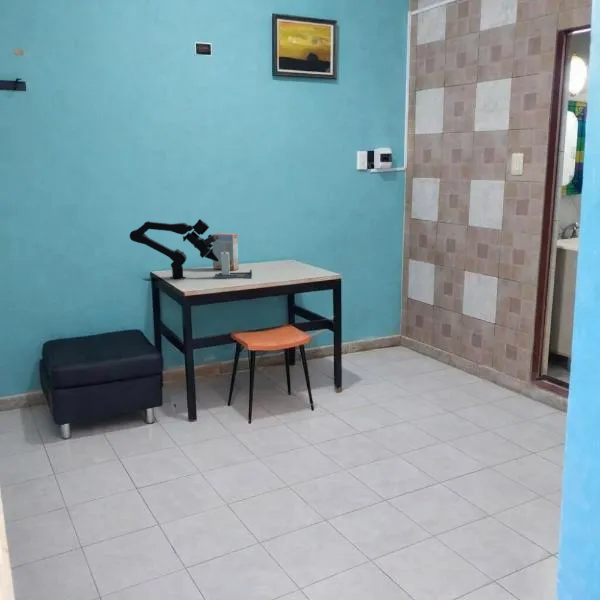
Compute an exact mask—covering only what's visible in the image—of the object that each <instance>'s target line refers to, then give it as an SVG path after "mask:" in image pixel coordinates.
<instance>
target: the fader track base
mask: <svg viewBox="0 0 600 600" xmlns="http://www.w3.org/2000/svg"><path fill="white" fill-rule="evenodd" d="M252 277H253V270H252V269H249V271H248V272H247V271H246V272H242V271H241V272H240V271H239V272H230V275H222V272H218V273H215V274H214V275H213V279H214V280H228V279H229V278H243V279H252ZM227 278H228V279H227ZM229 280H230V279H229Z"/></svg>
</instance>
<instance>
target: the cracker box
mask: <svg viewBox="0 0 600 600" xmlns="http://www.w3.org/2000/svg"><path fill="white" fill-rule="evenodd" d="M211 235H212V236H213V235H214V236H215V238H216V241H215V242H212V243H211V244H212V245H213V246H212V248H213V252H214V254H215V255H216V257H217V258H218V260H219V261H218V262H217V261H214V260H212V266H213V270H216V269H220V271H222V263H221V253H222V252H225V251H226V252H229V264H230V271H232V270H234V271H237V270H239V242H238V241H239V239H238V233H228V232H227V233H225V232H224V233H222V232H216V233H212V234H211Z"/></svg>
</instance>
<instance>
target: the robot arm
mask: <svg viewBox="0 0 600 600" xmlns="http://www.w3.org/2000/svg"><path fill="white" fill-rule="evenodd" d="M208 229H210V226H209V225H208V224H207V223H206V222H204V221H203V220H202V219H201V218H199V219H198V220H197V222H196V223H195V224H194V225H189V224H188V223H185V222H177V223H165V222H157V221H156V222H155V221H150V220H147V221H145V222H144V223H143V224H142V225H141V226H140V227H138V228H137V229H134V230H132V231H131V232H130V233H129V239H130V240H131V241H132V242H134V243H138V244H142V245H145V246H147V247H149V248H151V249H153V250H155V251H157V252H158V253H160V254H162V255H164V256H166V257H168V258H169V259H170V260H171V261H172V262H171V263H170V267H171V271H172V272H171V273H172V274H171V275H172V276H169V277H170V279H172V280H179V279H180V280H181V278H182V279H186V276H184V268H183V265H184V264H185V263H186V261H187V258H188V257H187V255H186V254H185V252H184V251H181V250H180V249H178V248H176V249H175V250H174V249H171V248H170V247H168V246H165V245H164V244H161V243H160V242H158V241H156V240H154V239H152V238H150V237H149V236H148V235H147V234H146V232H147V231H149V230H154V231H155V230H156V231H167V232H171V233H175V234H178V235H182V239H183V240H182V241H183V242H186V240H187V241H188V242H189V243H190V244H191V245H193V247H194V249H197V250H198V251H199V257H201V258H202V259H204V258H206V259H209V260H212V261H213V260H214V261H217V262H218V261H219V260H218V258H217V257H216V255H215V254H214V252H213V245H212V242H215V241H216V238H215V236H214V235H213V236H212V234H210V233H209V234H208V235H207V237H206V238H205V239H204V238H202V237H201V236H202V235H204V234H205V233H206V232H207V231H208Z"/></svg>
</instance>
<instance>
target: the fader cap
mask: <svg viewBox="0 0 600 600" xmlns="http://www.w3.org/2000/svg"><path fill="white" fill-rule="evenodd" d="M221 263H222V270H221V273H222V275H230V273H231V270H230V264H229V252H226V251H225V252H222V253H221Z"/></svg>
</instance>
